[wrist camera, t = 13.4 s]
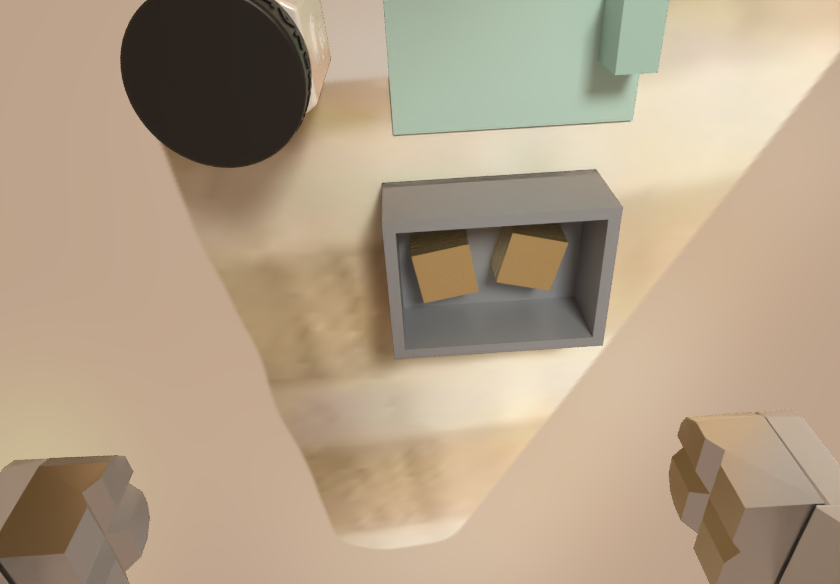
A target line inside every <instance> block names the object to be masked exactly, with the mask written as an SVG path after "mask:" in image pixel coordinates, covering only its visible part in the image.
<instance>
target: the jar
mask: <svg viewBox="0 0 840 584" xmlns="http://www.w3.org/2000/svg"><path fill="white" fill-rule="evenodd" d="M120 59H121V73H122V79H123V84H124V87H125V90H126V93H127V96H128V98H129V101H130V103H131V105H132V107H133V109H134V110H135V112H136V114H137V115H138V117H139V118H140V120H141V121H142V122H143V124H144V125H145V126H146V127H147V128H148V130H149V131H150V132H151V133H152V134H153V135H154V136H155V137H156V138H157V139H158V140H159V141H161V142H162V143H163V144H164V145H165V146H167V147H168V148H170V149H171V150H173V151H174V152H176V153H178V154H179V155H181V156H183V157H185V158H187V159H190V160H192V161H195V162H197V163H201V164H204V165H208V166H213V167H222V168H236V167H244V166H249V165H252V164H256V163H258V162H261V161H263V160H265V159H267V158H269V157H271V156H272V155H274V154H276V153H277V152H278V151H279V150H281V149H282V148H283V147H284V146H285V145H286V144H287V143H288V142H289V141H290V139H291V138H292V137H293V135H294V134H295V132H296V131H297V130H298V128H299V127H300V125H301V123H302V121H303V119H304V116H305V114H306V113H308V112H309V111H310V110H311V109H313V108H314V107H315V106H316V105H317V102H318V99H319V96H320V93H321V89H322V86H323V83H324V80H325V77H326V73H327V70H328V67H329V64H330V61H331V56H330V51H329V46H328V40H327V34H326V29H325V23H324V18H323V12H322V7H321V2H320V0H147V1H145V2H144V3H143V4H142V5H141V6H140V7H139V9H138V10H137V11H136V13H135V14H134V15H133V17H132V19H131V20H130V22H129V24H128V26H127V28H126V31H125V34H124V37H123V41H122V46H121V57H120Z"/></svg>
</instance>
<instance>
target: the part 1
mask: <svg viewBox="0 0 840 584" xmlns="http://www.w3.org/2000/svg"><path fill="white" fill-rule="evenodd" d="M410 243H411V257H412V261H413V265H414V268H415V272H416V275H417V279H418V283H419V286H420V290H421V294H422V297H423V301H424V303H428V302H433V301H437V300H442V299H447V298H451V297H456V296H461V295H466V294H470V293H475V292H479V290H478V285H477V281H476V276H475V271H474V267H473V262H472V257H471V252H470V248H469V243H468V238H467V234H466V229H454V230H439V231H429V232H425V233H420V234H416V235H411V236H410Z"/></svg>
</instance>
